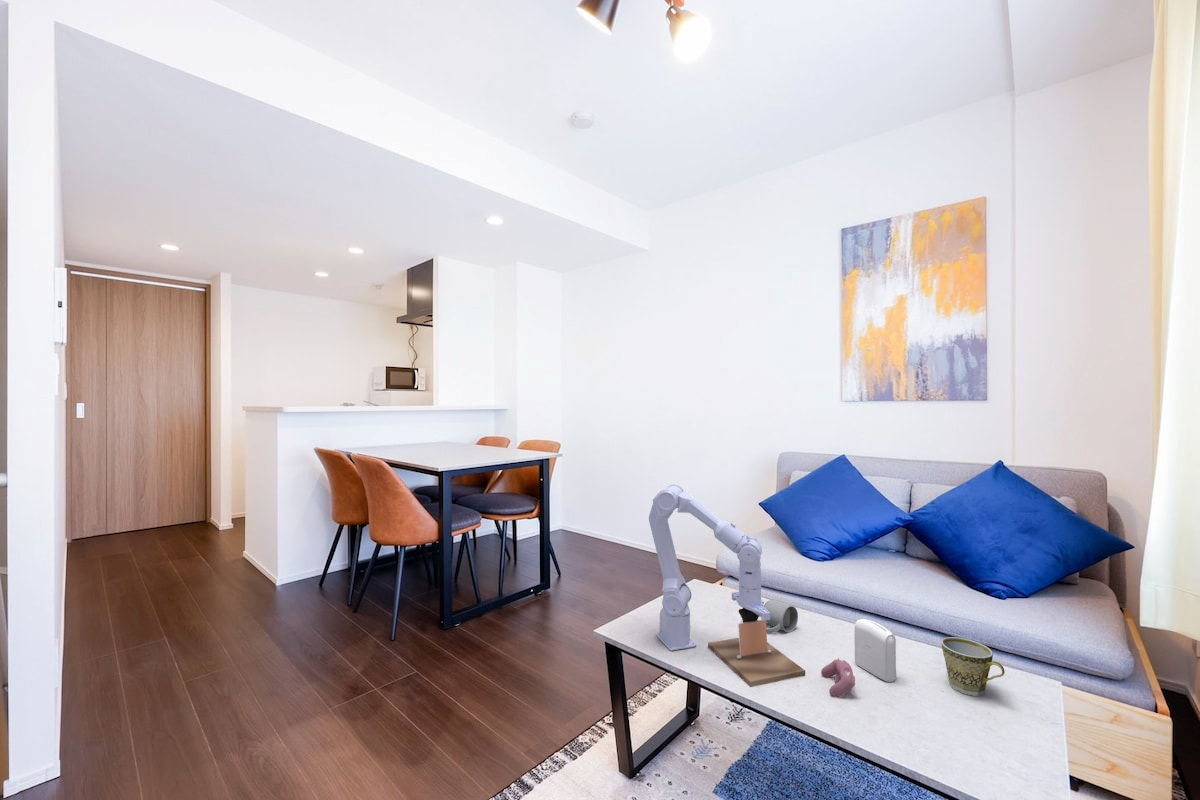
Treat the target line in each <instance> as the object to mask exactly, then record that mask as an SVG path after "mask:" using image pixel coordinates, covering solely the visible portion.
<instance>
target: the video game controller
mask: <svg viewBox="0 0 1200 800" xmlns="http://www.w3.org/2000/svg"><path fill="white" fill-rule="evenodd" d="M820 674H821V676H823V678H830V677H833V676H834V682H835V683H834V684H833V685H832V686H831V687H830V688H829V689H828V690H829V694H830V695H831V696H832V697H841V696H843V695H844V694H847V693H848V692H849V691H850V690H852V689H853V688H854V687H855V686H856V677H855V676H854V672H853V668H852V666H851V665H850V663H848V662H847V661H846V660H844V659H841V658H839V657H838V658H837V659H834V660H833V661H831V662H830V663H828V664H826V665H825V666H823V668H822V669H821V670H820Z"/></svg>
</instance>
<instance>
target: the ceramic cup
mask: <svg viewBox="0 0 1200 800" xmlns="http://www.w3.org/2000/svg"><path fill="white" fill-rule="evenodd" d="M941 649H942V653H943V658H944V661H945V668H946V672H947V678H948V682H949V685H950V686H951V688H952V689H953V688H954V689H953V690H955V689H956V690H955V691H957V690H958V691H957V692H959V691H960V692H959V693H961V692H962V693H961V694H963V693H964V694H963V695H966V694H968V695H967V696H971V695H973V696H972V697H976V696H978V697H981V696H983V695H984V694H985V691H986V686H987V682H988V681H991V680H993V679H995V678H1002V677H1003V676H1004V675H1005V673H1006V671H1005V669H1004V666H1003V665H1002V664H1001V663H1000V662H997V661H993V655H994V653H993V650H991V649H990V648H989V647H988V646H987V645H984V644H982V643H981V642H977V641H974V640H971V639H969V638H963V637H956V636H951V637H950V636H949V637H944V638H943V639H941ZM991 666H997V667H998V668H1000V670H1001V674H1000V673H999V674H997V675H993V676H991V677H989V675H990V674H989V673H990V669H991ZM982 694H983V695H982ZM980 695H981V696H980Z"/></svg>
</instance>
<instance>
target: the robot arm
mask: <svg viewBox="0 0 1200 800" xmlns="http://www.w3.org/2000/svg"><path fill="white" fill-rule="evenodd" d="M676 509H677V511H676V512H677V513H678V514H679V513H682V514H684V513H685V514H687V513H688V514H690V515H692V516H693V517H694V518H696V519H697V520H699V521H700V522H701V523H703V524H704V525H706V526H707V527H708V528H709V529H711V530H713V534H714V537H715V539H716V540H718V541H719V542H720V543H721V544H723V545H724V546H725V547H726V548H727V549H729V550H730V551H731V552H733V553H734V554H736V556H737V557H736V558H737V559H738V562H739V567H738V591H733V592H731V600H732V601H735V602H736V603H737V605H738V606H740V608H739V609H738V613H739V615H740V617H741V620H742V623H744V622H751V621H757V620H759V617H760V618H761V619H760V620H763V621H766V620H770V612H769V611H767V609H766V608H765V607H764V605H765V601H764V600H763V599H762V569H761V565H762V563H761V556H762V553H763V548H762V545H761V543H760V542H759V541H758V540H757V539H756V538H755V537H751V536H750V535H749V534H745V533H744V532H743V531H742V530H740V529H739V528H738V527H736V526H737V524H736V523H735V521H734V522H733V521H732V522H729V520H721V519H720V518H718V517H717V516H716V515H715V514H714V513H712V512H711V511H710V510H709V509H708V508H707V507H705V506H704V505H703V504H702V503H701V502H700V501H698V500H697V499H696V497H694V496H693V495H692V494H691V493H690V492H689V491H687V490H684V489H683V488H682V487H681V486H679V485H677V484H670V485H668V486H667V487H666V488H665V489H662V490H660V491H659V492H658V493H657V494H656V495H655V497H654V498H653V499H652V506H651V508H650V512H649V514H648V515H649V516H648V522H649V527H650V530H651V535H652V539H653V543H654V547H655V551H656V554H657V559H658V563H659V568H660V572H661V576H662V581H663V582H662V589H661V590H662V595H663V597H662V602H661V604H662V608H661V609H660V612H659V633H656V637H657V638H658V639H659V640H660V641H661V642H662V643H663V644H664V645H665V647H667V649H668V650H669V651H671V652H672V651H678V650H682V649H683V650H684V649H690V648H696V643H695V642H694V641H693V640H692V639H691V609H690V607H689V602H690V601H691V599H692V591H691V589H690V587H689V586H688V584H687V582H686V580H685V577H684V576H683V575H682V573H681V570H680V569H681V568H680V565H679V561H678V558H677V553H676V549H675V545H674V542H673V536H672V533H671V529H670V524H669V522H668V521H669V519H670V517H671V516H672V514H673V513H674V511H675V510H676Z"/></svg>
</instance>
